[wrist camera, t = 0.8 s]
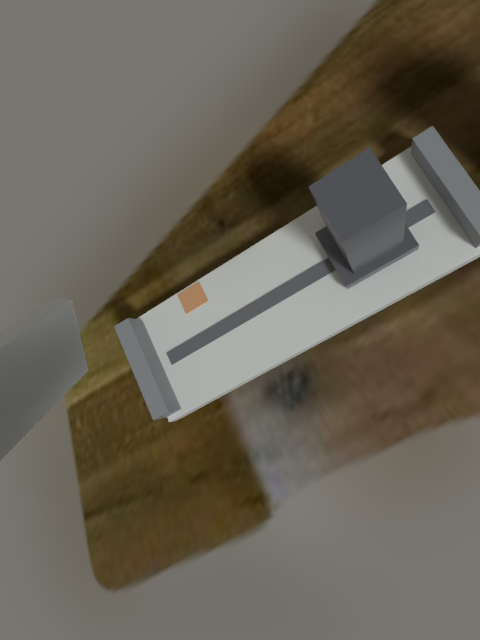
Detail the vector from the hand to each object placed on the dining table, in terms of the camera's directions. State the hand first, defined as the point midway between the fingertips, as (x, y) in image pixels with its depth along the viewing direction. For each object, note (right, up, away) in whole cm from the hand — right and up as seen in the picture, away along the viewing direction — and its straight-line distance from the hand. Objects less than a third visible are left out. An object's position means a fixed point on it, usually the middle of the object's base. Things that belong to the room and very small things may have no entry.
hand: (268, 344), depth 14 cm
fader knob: (+9, +7, +21) cm, 24 cm away
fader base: (+4, +3, +24) cm, 25 cm away
